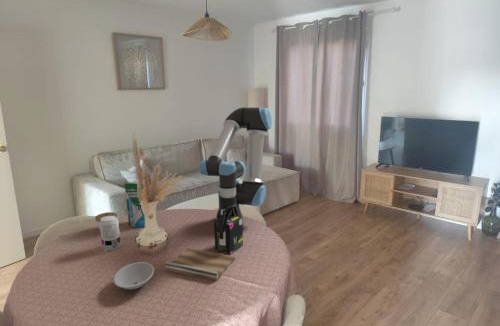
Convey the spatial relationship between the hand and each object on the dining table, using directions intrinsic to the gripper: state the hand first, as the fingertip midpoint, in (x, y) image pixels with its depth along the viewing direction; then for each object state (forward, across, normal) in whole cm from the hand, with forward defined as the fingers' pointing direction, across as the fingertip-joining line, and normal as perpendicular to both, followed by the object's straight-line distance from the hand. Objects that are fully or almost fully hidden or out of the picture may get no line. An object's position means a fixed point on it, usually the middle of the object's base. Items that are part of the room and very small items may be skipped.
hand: (228, 238), depth 156 cm
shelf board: (+5, +18, -5) cm, 19 cm away
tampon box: (+5, 0, 0) cm, 5 cm away
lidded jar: (+5, +3, -71) cm, 71 cm away
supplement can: (+5, +19, -53) cm, 56 cm away
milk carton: (+5, -9, -59) cm, 60 cm away
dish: (+5, +40, -21) cm, 46 cm away
